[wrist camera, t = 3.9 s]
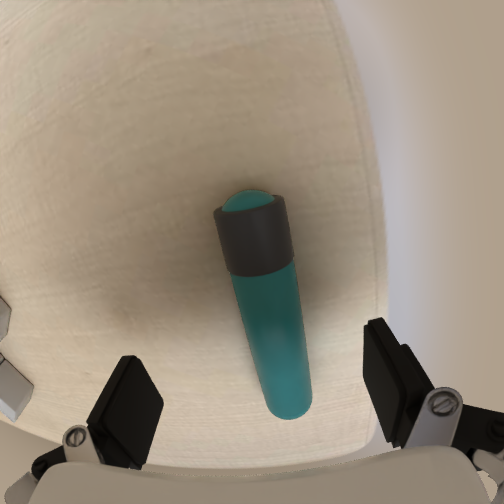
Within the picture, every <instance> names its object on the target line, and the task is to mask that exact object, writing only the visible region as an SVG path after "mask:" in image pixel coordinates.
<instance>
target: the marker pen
mask: <svg viewBox="0 0 504 504" xmlns="http://www.w3.org/2000/svg"><path fill="white" fill-rule="evenodd" d="M213 215H214V219H215V223H216V227H217V231H218V235H219V239H220V243H221V247H222V251H223V255H224V258H225V262H226V266H227V269H228V271H229V272H230V276H231V280H232V284H233V288H234V291H235V295H236V299H237V302H238V306H239V310H240V313H241V317H242V321H243V324H244V328H245V332H246V335H247V339H248V342H249V346H250V349H251V353H252V356H253V360H254V363H255V367H256V370H257V374H258V377H259V381H260V384H261V387H262V391H263V394H264V397H265V401H266V404H267V407H268V409H269V410H270V412H271V413H272V414H273V415H275V416H276V417H278V418H281V419H285V420H291V419H296V418H299V417H301V416H302V415H304V414H305V413H306V412H307V411H308V409H309V408H310V405H311V403H312V388H311V379H310V371H309V363H308V355H307V348H306V340H305V333H304V326H303V319H302V312H301V305H300V298H299V292H298V285H297V279H296V273H295V266H294V260H293V257H294V253H293V247H292V241H291V235H290V229H289V223H288V218H287V212H286V207H285V201H284V198H283V197H282V196H278V195H270V194H268V193H266V192H263V191H259V190H245V191H241V192H239V193H237V194H235V195H233V196H232V197H231V198H230V199H228V200H227V202H226V203H225V204H224V205H223V206H221V207H219V208H217V209H216V210H215V211H214V213H213Z"/></svg>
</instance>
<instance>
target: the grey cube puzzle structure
mask: <svg viewBox="0 0 504 504" xmlns="http://www.w3.org/2000/svg"><path fill="white" fill-rule="evenodd" d="M10 312H11V309H10V308H9V307H8V306H7V304H6V303H5V302H4V301H3V300H2V299H1V298H0V341H1V340H2V339H3V338H4V337H5V336H6V335H7V329H8V323H9V317H10ZM3 361H4V357H3V356H2V355H1V354H0V411H1V412H2V413H3V414H4V415H5V416H6V417H8V418H9V419H10V420H11V421H12V422H13V423H15V422H16V420H17V419H18V417H19V416H20V414H21V413H22V411H23V410H24V408H25V407H26V405H27V404H28V402H29V401H30V399H31V395H32V392H33V389H34V386H33V385H32V384H31V383H30V382H29V381H27V380H26V379H25V378H24V377H23V376H22V375H21V374H20V373H19V372H18V371H17V370H16V369H15V368H14V367H13V366H12V365H11V364H10V363H9V362H8V361H7V360H5V361H4V362H3Z"/></svg>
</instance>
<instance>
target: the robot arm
mask: <svg viewBox="0 0 504 504" xmlns="http://www.w3.org/2000/svg"><path fill="white" fill-rule="evenodd" d="M363 378H364V382H365V384H366V387H367V390H368V392H369V395H370V397H371V400H372V403H373V405H374V408H375V411H376V414H377V416H378V419H379V422H380V425H381V427H382V430H383V433H384V436H385V439H386V441H387V442H388V443H389V442H392V445H393V448H396V447H398V446H401V449H400V450H396V451H391V452H387V453H383V454H379V455H375V456H370V457H367V458H363V459H358V460H354V461H350V462H345V463H340V464H335V465H330V466H324V467H319V468H313V469H307V470H300V471H293V472H284V473H275V474H263V475H249V476H192V475H176V474H165V473H164V474H163V473H155V472H147V471H140V470H141V468H142V465H143V464H145V463H146V460H147V457H148V454H149V450H150V447H151V444H152V441H153V437H154V434H155V431H156V428H157V425H158V422H159V418H160V415H161V412H162V409H163V406H164V402H163V399H162V397H161V395H160V394H159V392H158V390H157V388H156V387H155V385H154V383H153V382H152V380H151V378H150V376H149V374H148V373H147V371H146V369H145V367H144V365H143V363H142V362H141V360H140V359H139V358H137V357H136V356H134V355H130V356H122V357H121V359H120V361H119V362H118V364H117V366H116V367H115V369H114V371H113V373H112V375H111V376H110V378H109V380H108V382H107V384H106V385H105V387H104V389H103V391H102V393H101V394H100V396H99V398H98V400H97V402H96V404H95V406H94V407H93V409H92V411H91V413H90V415H89V417H88V419H87V421H86V422H87V424H88V426H87V427H85V426H83V425H75V426H72V427H71V428H69V429H68V430H67V431H66V432H65V434H64V435H63V439H62V443H63V445H62V446H60V447H58V448H56V449H54V450H52V451H50V452H48V453H46V454H44V455H42V456H40V457H38V458H37V459H36V460H35V461H34V462H33V464H32V468H31V470H32V473H30V472H27V473H26V474H25V475H24V476H23V477H21V478H20V479H19V480H18V481H17V482H16V483H14V484H13V485H12V486H11V487H9V488H8V489H7V491H6V493H5V502H6V504H504V413H501V412H496V411H492V410H487V409H482V408H478V407H473V406H469V405H465V404H463V400H462V397H461V395H460V394H459V393H458V392H457V391H456V390H454V389H452V388H449V387H441V388H436V389H435V388H434V386H433V384H432V383H431V381H430V379H429V378H428V376H427V375H426V373H425V371H424V370H423V368H422V366H421V365H420V363H419V362H418V360H417V358H416V357H415V355H414V354H413V352H412V350H411V349H410V347H409V346H408V345H407V344H402V345H400V344H399V342H398V341H397V339H396V338H395V336H394V334H393V333H392V331H391V330H390V328H389V327H388V325H387V323H386V322H385V320H384V319H383V318H382V317H380V318H377V319H373V320H369V321H368V325H364V348H363ZM128 468H130V469H128ZM133 469H135V470H133ZM481 470H484V471H485V472H487V473H488V474H489V475H488V477H490V478H492V479H493V480H494V481H495V482H496V483H497V486H498V490H497V494H496V496H495V498H494V499H493V501H492V502H491V501H490V499H489V496H488V494H487V491H486V489H485V487H484V484H483V482H482V480H481V478H480V476H479V474H478V473H477V471H481Z"/></svg>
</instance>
